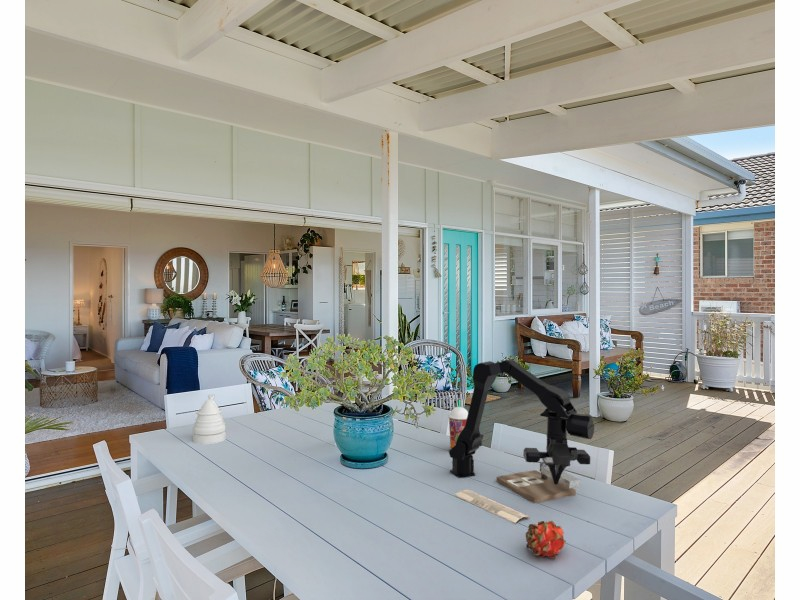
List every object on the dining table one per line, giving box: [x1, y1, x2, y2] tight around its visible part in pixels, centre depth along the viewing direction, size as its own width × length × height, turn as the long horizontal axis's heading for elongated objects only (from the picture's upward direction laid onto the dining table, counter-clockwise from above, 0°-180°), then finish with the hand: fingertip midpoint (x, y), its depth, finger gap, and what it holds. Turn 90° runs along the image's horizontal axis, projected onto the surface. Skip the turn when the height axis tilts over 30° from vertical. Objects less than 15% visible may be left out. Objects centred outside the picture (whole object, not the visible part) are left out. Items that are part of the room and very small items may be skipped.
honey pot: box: [192, 394, 227, 445], centre depth 216 cm, size 13×13×18 cm
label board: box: [496, 469, 577, 504], centre depth 165 cm, size 16×19×4 cm
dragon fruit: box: [525, 520, 566, 560], centre depth 124 cm, size 8×8×12 cm
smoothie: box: [448, 399, 469, 450], centre depth 202 cm, size 8×8×20 cm
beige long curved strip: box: [454, 489, 531, 525], centre depth 150 cm, size 24×7×2 cm, turn 37°
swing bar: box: [539, 461, 581, 489], centre depth 163 cm, size 16×4×2 cm, turn 20°
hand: (555, 484), depth 157 cm, fingers closed
